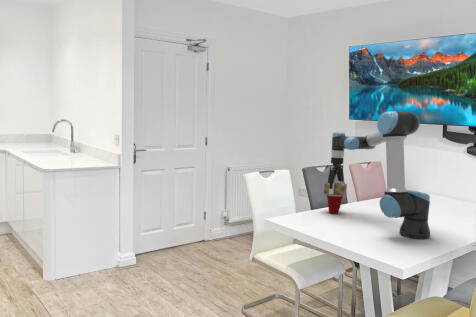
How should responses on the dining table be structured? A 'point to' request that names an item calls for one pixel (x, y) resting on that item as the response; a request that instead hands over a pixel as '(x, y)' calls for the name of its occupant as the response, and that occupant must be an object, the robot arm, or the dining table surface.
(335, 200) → the plastic cup
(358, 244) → the dining table surface
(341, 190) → the brown wooden block
